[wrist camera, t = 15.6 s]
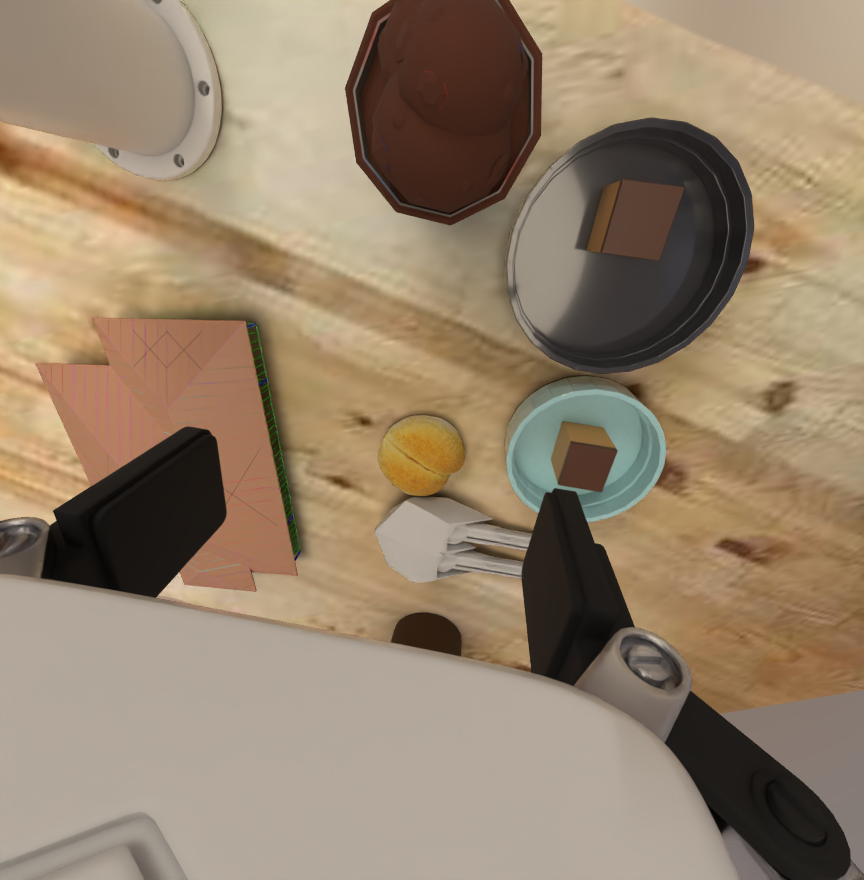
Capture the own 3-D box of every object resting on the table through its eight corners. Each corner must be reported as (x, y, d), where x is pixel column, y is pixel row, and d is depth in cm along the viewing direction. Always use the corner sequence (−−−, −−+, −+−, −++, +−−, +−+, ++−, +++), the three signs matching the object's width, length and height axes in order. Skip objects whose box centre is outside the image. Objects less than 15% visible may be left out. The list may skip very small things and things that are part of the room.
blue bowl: (493, 486, 44) (493, 509, 40) (521, 363, 38) (525, 377, 34) (620, 507, 43) (633, 533, 40) (671, 386, 37) (692, 404, 33)
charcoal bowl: (487, 344, 37) (488, 356, 33) (530, 119, 29) (536, 103, 26) (670, 372, 36) (691, 388, 33) (763, 149, 29) (804, 136, 25)
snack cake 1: (550, 459, 41) (557, 485, 37) (562, 420, 39) (571, 443, 35) (589, 466, 41) (601, 492, 37) (603, 427, 39) (618, 450, 35)
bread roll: (479, 441, 42) (479, 460, 38) (428, 495, 46) (423, 518, 42) (415, 394, 40) (409, 409, 37) (368, 454, 44) (357, 473, 40)
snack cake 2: (586, 250, 32) (601, 253, 28) (603, 186, 30) (622, 178, 26) (636, 257, 32) (659, 261, 28) (657, 193, 30) (685, 186, 26)
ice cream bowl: (394, 35, 28) (314, -142, 15) (549, 73, 28) (607, -72, 15) (373, 206, 33) (298, 187, 20) (505, 239, 33) (518, 241, 20)
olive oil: (374, 624, 56) (303, 876, 34) (436, 598, 53) (401, 862, 31) (419, 668, 60) (380, 924, 37) (480, 647, 56) (477, 917, 34)
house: (150, 558, 56) (101, 606, 48) (47, 310, 41) (-47, 326, 34) (310, 572, 53) (283, 625, 46) (263, 314, 38) (211, 332, 31)
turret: (523, 571, 52) (533, 603, 47) (369, 546, 49) (364, 577, 44) (554, 511, 47) (568, 540, 43) (385, 479, 44) (382, 506, 40)
